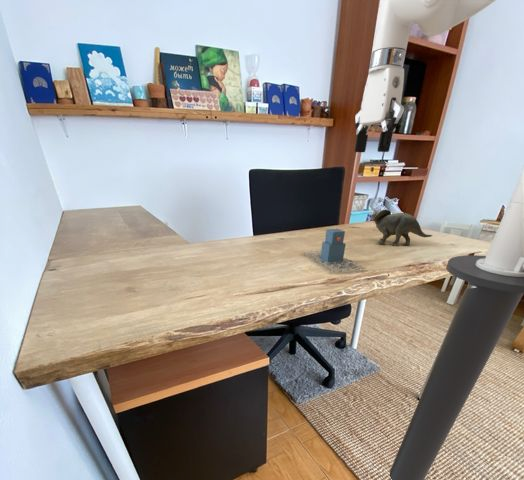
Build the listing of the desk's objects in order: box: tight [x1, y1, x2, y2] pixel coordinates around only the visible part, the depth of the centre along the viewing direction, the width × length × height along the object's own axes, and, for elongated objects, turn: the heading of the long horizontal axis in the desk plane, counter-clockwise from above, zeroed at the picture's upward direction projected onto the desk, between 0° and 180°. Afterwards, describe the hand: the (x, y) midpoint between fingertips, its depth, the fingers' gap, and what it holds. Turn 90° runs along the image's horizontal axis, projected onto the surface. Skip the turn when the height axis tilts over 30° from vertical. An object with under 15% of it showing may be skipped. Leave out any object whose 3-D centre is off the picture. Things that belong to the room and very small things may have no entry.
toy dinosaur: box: [370, 204, 433, 247], centre depth 99 cm, size 22×8×11 cm, turn 51°
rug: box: [302, 249, 368, 273], centre depth 83 cm, size 10×20×1 cm, turn 18°
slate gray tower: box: [319, 228, 346, 265], centre depth 81 cm, size 4×5×8 cm
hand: (370, 151), depth 78 cm, fingers open, 9 cm apart
